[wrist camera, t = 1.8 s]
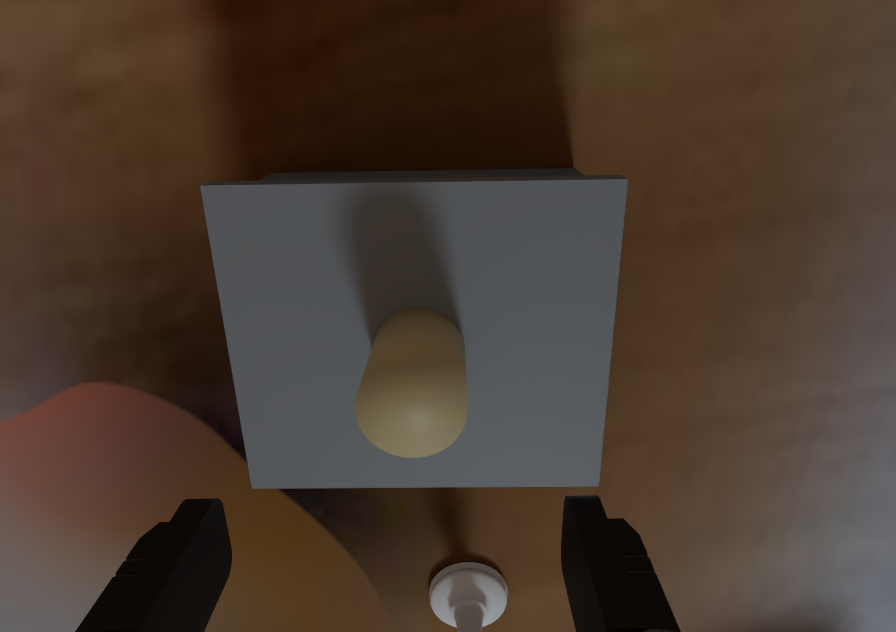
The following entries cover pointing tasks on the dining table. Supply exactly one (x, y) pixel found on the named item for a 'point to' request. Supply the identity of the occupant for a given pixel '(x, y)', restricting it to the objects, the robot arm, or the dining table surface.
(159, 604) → the robot arm
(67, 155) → the dining table surface
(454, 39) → the dining table surface
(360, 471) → the lid
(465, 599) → the chess piece
